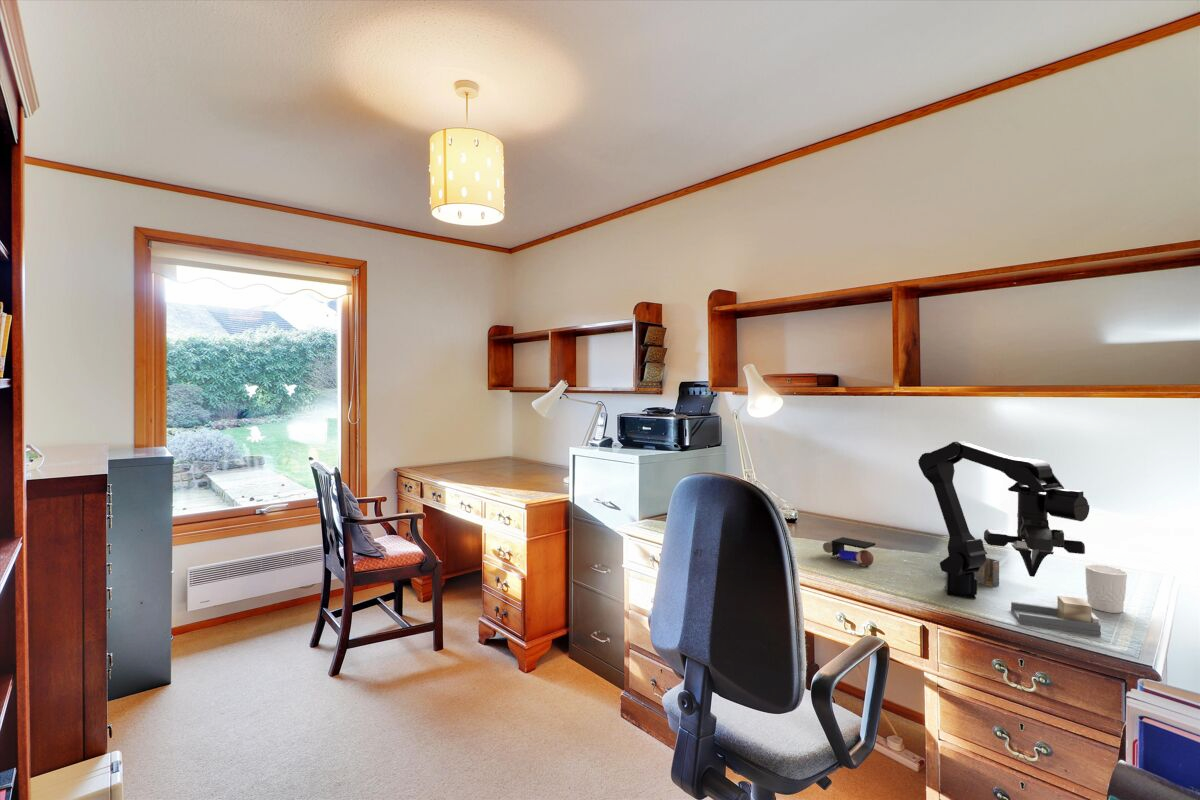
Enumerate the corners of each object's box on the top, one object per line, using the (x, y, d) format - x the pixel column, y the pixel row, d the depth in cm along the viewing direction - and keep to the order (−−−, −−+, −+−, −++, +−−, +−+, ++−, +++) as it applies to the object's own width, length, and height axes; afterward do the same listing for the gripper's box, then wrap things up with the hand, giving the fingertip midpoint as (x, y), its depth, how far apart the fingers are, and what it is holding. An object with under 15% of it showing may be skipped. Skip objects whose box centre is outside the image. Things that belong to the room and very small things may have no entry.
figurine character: (822, 562, 184) (867, 569, 172) (820, 539, 184) (864, 544, 172) (834, 558, 188) (878, 565, 176) (832, 535, 188) (876, 540, 176)
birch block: (1063, 623, 131) (1064, 602, 131) (1057, 615, 135) (1057, 595, 135) (1091, 627, 129) (1091, 606, 128) (1083, 619, 133) (1083, 598, 133)
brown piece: (952, 576, 167) (952, 544, 166) (958, 575, 168) (958, 543, 168) (992, 589, 156) (993, 555, 156) (998, 587, 158) (999, 553, 157)
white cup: (1105, 601, 146) (1106, 564, 146) (1135, 614, 138) (1136, 574, 138) (1076, 602, 146) (1076, 564, 145) (1104, 614, 138) (1105, 574, 138)
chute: (1020, 623, 133) (1020, 610, 133) (1010, 610, 141) (1011, 597, 141) (1100, 635, 126) (1101, 621, 126) (1086, 620, 134) (1086, 606, 134)
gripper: (993, 515, 131) (992, 581, 132) (1094, 523, 123) (1093, 593, 124) (983, 506, 142) (983, 567, 142) (1076, 513, 134) (1076, 577, 134)
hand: (1031, 576), depth 135 cm, fingers closed
